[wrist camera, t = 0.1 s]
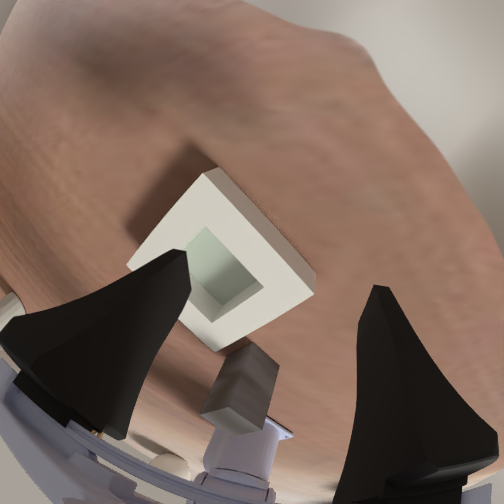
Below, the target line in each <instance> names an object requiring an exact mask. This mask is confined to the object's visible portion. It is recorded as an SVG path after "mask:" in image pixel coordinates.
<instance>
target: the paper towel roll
mask: <svg viewBox="0 0 504 504" xmlns="http://www.w3.org/2000/svg"><path fill="white" fill-rule="evenodd" d="M25 314H26V313H25V309H24V307H23V305H22V303H21V301H20V300H19V298H18V297H17V295H16V294H15V293H14V292H10V293H9V294H7V295H6V296H5V297H3V298H2V299H1V300H0V331H1V330H2V329H3V328H4V326H5V325H6V324H7V323H8V322H9V321H10V320H11V318H13V317H14V316H20V315H25ZM2 349H3V348H2V347H1V345H0V351H1V350H2Z"/></svg>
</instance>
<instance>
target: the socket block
mask: <svg viewBox="0 0 504 504" xmlns="http://www.w3.org/2000/svg"><path fill="white" fill-rule="evenodd" d="M171 249H178V250H184V251H186V252H187V259H188V267H189V274H190V281H191V288H192V291H191V293H190V295H189V298H188V300H187V302H186V305H185V307H184V309H183V311H182V313H181V314H180V316H179V318H178V319H179V320H180V321H181V322H182V323H183V324H184V325H185V326H186V327H187V328H189V329H190V330H191V331H192V332H193V333H194V334H195V335H196V336H197V337H198V338H199V339H200V340H201V341H203V342H204V343H205V344H206V345H207V346H208V347H209V348H210V349H211V350H213V351H214V352H217V351H218V350H220V349H222V348H224V347H226V346H228V345H229V344H231V343H233V342H235V341H237V340H238V339H240V338H242V337H244V336H246V335H247V334H249V333H251V332H253V331H254V330H256V329H258V328H260V327H261V326H263V325H265V324H266V323H268V322H270V321H271V320H273V319H275V318H276V317H278V316H280V315H281V314H283V313H285V312H286V311H288V310H290V309H291V308H293V307H295V306H296V305H298V304H299V303H301V302H303V301H304V300H306V299H307V298H309V297H311V296H312V295H314V293H315V283H316V272H315V271H314V270H313V269H312V268H311V267H310V266H309V264H308V263H307V262H306V261H305V260H304V259H303V258H302V256H301V255H300V254H299V253H298V252H297V251H296V250H295V249H294V247H293V246H292V245H291V244H290V243H289V242H288V241H287V240H286V238H285V237H284V236H283V235H282V234H281V233H280V232H279V231H278V229H277V228H276V227H275V226H274V225H273V224H272V223H271V222H270V221H269V220H268V218H267V217H266V216H265V215H264V214H263V213H262V212H261V211H260V210H259V209H258V208H257V206H256V205H255V204H254V203H253V202H252V201H251V200H250V199H249V198H248V197H247V196H246V195H245V194H244V192H243V191H242V190H241V189H240V188H239V187H238V186H237V185H236V184H235V183H234V182H233V181H232V180H231V179H230V178H229V176H228V175H227V174H226V173H225V172H224V171H223V170H222V169H221V168H220V167H218V168H215V169H212V170H209V171H207V172H204V173H202V174H201V175H200V177H199V178H198V179H197V180H196V181H195V182H194V183H193V184H192V185H191V187H190V188H189V189H188V190H187V191H186V192H185V193H184V194H183V196H182V197H181V198H180V199H179V200H178V201H177V202H176V204H175V205H174V206H173V207H172V208H171V209H170V211H169V212H168V213H167V214H166V215H165V217H164V218H163V219H162V220H161V221H160V223H159V224H158V225H157V226H156V227H155V229H154V230H153V231H152V232H151V234H150V235H149V236H148V237H147V239H146V240H145V241H144V242H143V244H142V245H141V246H140V248H139V249H138V250H137V251H136V253H135V254H134V255H133V257H132V258H131V259H130V261H129V262H128V263H127V266H128V267H129V268H130V269H131V270H132V272H133V271H135V270H136V269H138V268H140V267H141V266H143V265H145V264H146V263H148V262H150V261H151V260H153V259H155V258H156V257H158V256H160V255H162V254H163V253H165V252H167V251H169V250H171Z"/></svg>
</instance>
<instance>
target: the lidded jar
mask: <svg viewBox="0 0 504 504" xmlns="http://www.w3.org/2000/svg"><path fill="white" fill-rule="evenodd" d="M149 464H150V465H152V466H154V467H156V468H159V469H161V470H163V471H166V472H168V473H170V474H173V475H175V476H178V477H181V478H183V479H186V480H189V481H190V478H191V471H190V468H189V466H188V463H187V461H185V460H184V459H182V458H180V457H178V456H176V455H173V454H170V453H165V454H162V455H159V456H156V457H155V458H154V459H153V460H152V461H151V462H150V463H149Z"/></svg>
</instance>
